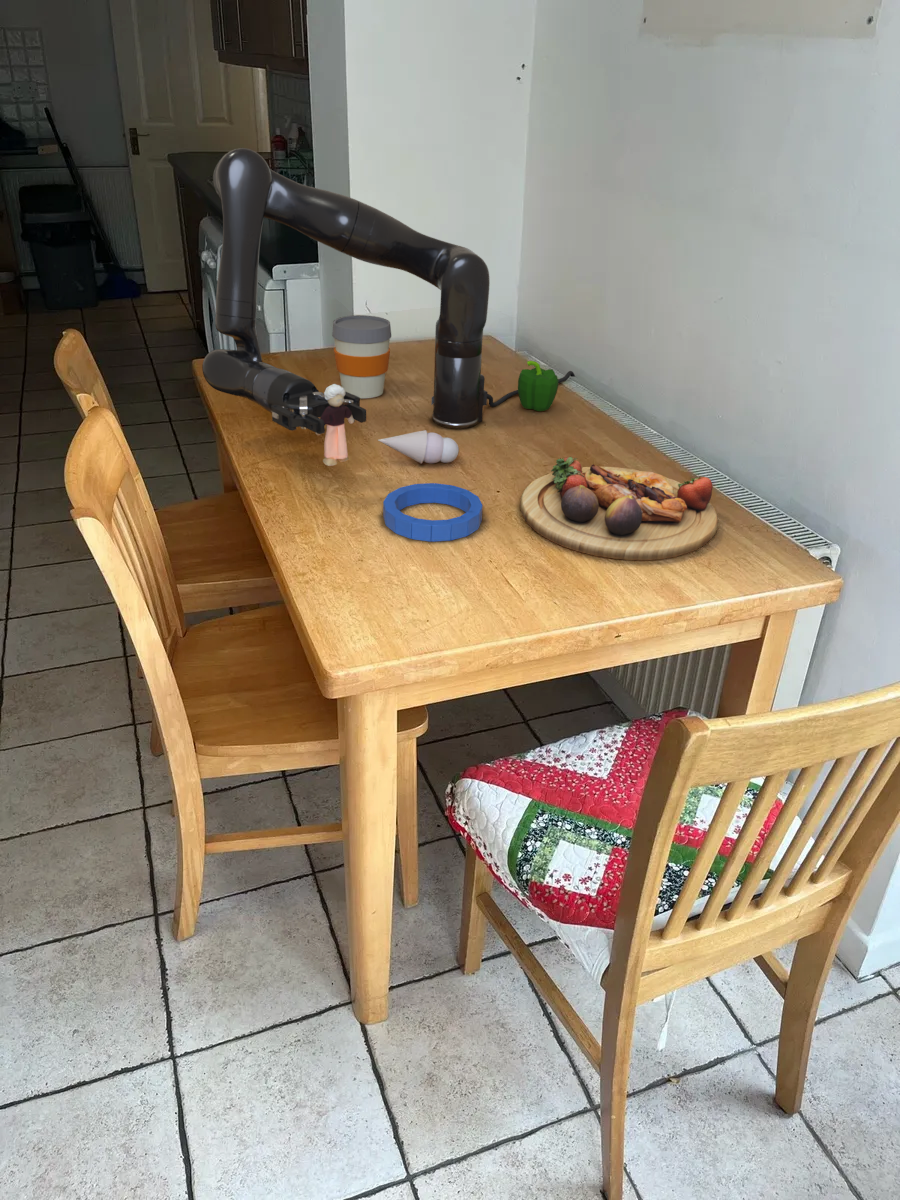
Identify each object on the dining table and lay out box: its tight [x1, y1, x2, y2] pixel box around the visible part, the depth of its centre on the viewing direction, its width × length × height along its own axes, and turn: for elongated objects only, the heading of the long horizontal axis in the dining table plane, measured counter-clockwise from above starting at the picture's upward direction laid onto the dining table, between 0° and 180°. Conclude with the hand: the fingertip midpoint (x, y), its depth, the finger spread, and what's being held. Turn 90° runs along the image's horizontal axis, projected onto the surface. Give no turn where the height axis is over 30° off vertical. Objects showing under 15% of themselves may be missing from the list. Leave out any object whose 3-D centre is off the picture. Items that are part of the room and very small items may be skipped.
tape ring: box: [382, 482, 484, 543], centre depth 145 cm, size 16×16×3 cm
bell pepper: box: [517, 360, 559, 412], centre depth 191 cm, size 8×8×10 cm
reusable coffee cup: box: [331, 314, 392, 399], centre depth 195 cm, size 13×13×15 cm
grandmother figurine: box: [314, 383, 356, 467], centre depth 144 cm, size 8×4×13 cm, turn 148°
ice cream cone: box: [377, 429, 460, 464], centre depth 164 cm, size 6×6×15 cm
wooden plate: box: [519, 456, 719, 561], centre depth 147 cm, size 32×32×8 cm
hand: (344, 422), depth 143 cm, fingers closed on grandmother figurine, 7 cm apart
